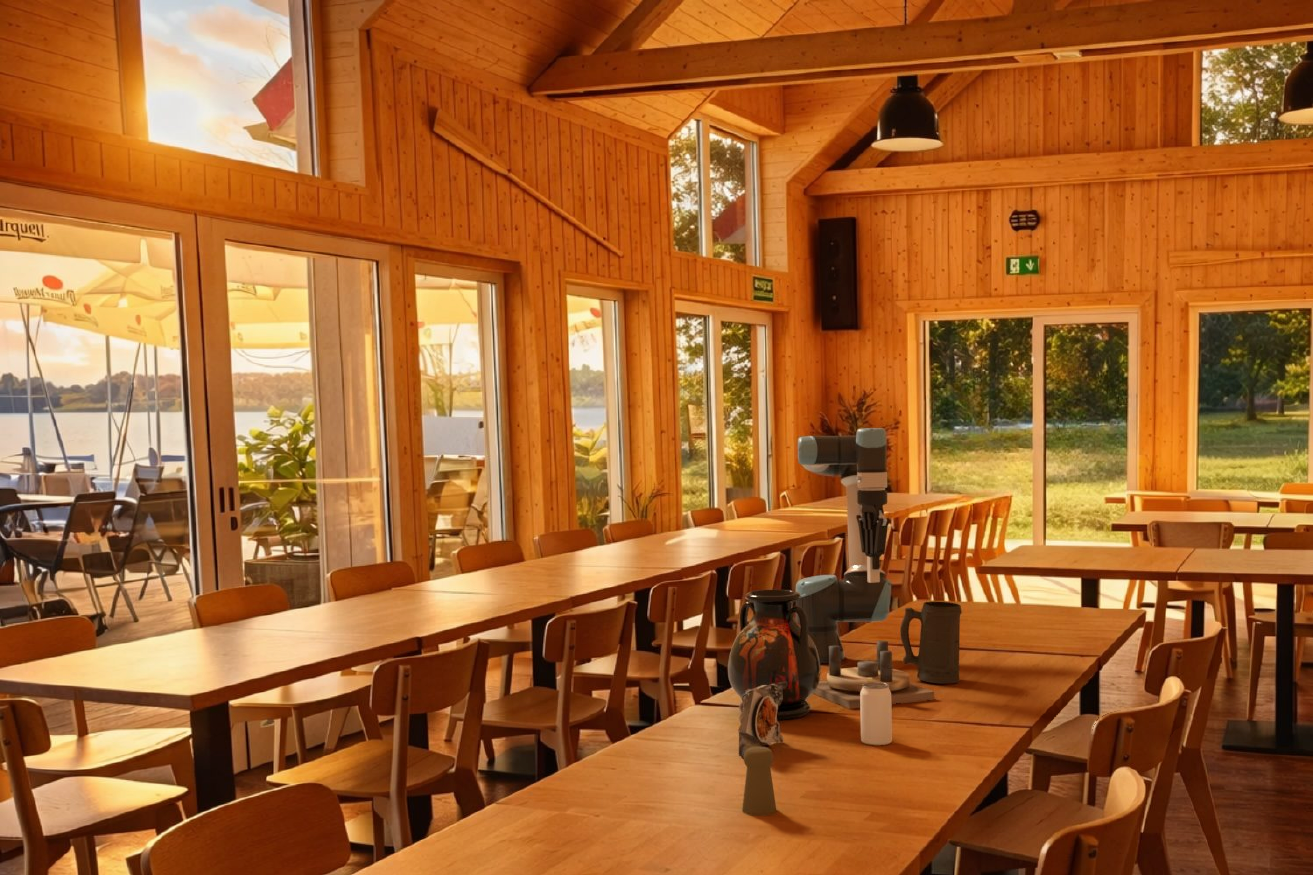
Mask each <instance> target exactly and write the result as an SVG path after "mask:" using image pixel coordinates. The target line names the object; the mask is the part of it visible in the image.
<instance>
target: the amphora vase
mask: <svg viewBox="0 0 1313 875" xmlns="http://www.w3.org/2000/svg"><path fill="white" fill-rule="evenodd" d="M800 597H801V595H800V594H799V593H798V592H796V590H795V591H794V590H791V589H790V590H789V589H758V590H753V591H748V592H747V593H746V594H745V596H744V598H745V600H747V601H746V602H744V603H743V604H742V606H741V608H740V613H739V633H738V635H737V636H736V637H735V640H734V641H733V644H732V646H731V650H730V652H729V657H728V663H727V676H728V677H727V678H728V680H729V683H730V686H731V687H732V689H733V691H734V692H735V693H736V694H737V695H738V696H739V698H740V699H741V698H742V696H743V694H745V693H746V690H748V689H754V688H757V687H759V686H761V685H770V684H777V683H783V682H787V681H788V685H787V686H786V687H785V688H784V689H783V690H782V693H783V700H782V702H781V704H780V706H778V709H777V719H776V720H777V721H778V720H780V721H783V720H784V721H785V720H791V719H798V718H801V717H803V716H806V715H807V714H808V713H809V712H810V711H811V704H810V703H809V702H808V699H809V698H810V697H811V696H812V694H813V692H814V691H815V689H816V687H817V686H818V683H819V681H821V669H822V668H821V664H820V661H819V655H818V652H817V649H816V646H815V644H814V642H813V640H812V638H811V637H810V635H809V634H808V621H807V615H806V613H805V611H804V610H803V609H802V608H801V607H797V606H796V605H795V606H793V604H794V603H796V601H797V600H798V599H800ZM749 609H751V611H752V612H753V613H752V617H751V619H750V620H749V622H748V612H749ZM796 613H797V614H798V615H799V618H800V624H799V623H798V622H797V621H796V617H795V614H796ZM742 699H743V698H742ZM742 699H741V700H742ZM738 708H739V711H740V713H742V709H743V702H742V701H741V702H740V704H739V707H738Z"/></svg>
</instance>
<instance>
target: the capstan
mask: <svg viewBox="0 0 1313 875" xmlns="http://www.w3.org/2000/svg"><path fill="white" fill-rule="evenodd" d="M892 652H893V651H891V650H889V641H887V640H877V641H876V661H875V660H874V661H873V660H861V661H858V662H857V667H856V666H854V667H845V668H842V664H841V662H842V661H841V655H840V646H829V663H828V669H829V671H828V672H827V673H826V680H827V684H828V685H829V686H831V687H834V688H837V689H842V690H848V691H859V692H861V690H862V685H863V684H866V683H884V684H888V685H889V689H890V691H893V690H899V689H903V688H906V687H908V686H909V685H910V683H911V680H910V674H909V673H908V672H905V671H903V670H900V669H895V668H893V654H892Z"/></svg>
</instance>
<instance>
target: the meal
mask: <svg viewBox="0 0 1313 875" xmlns="http://www.w3.org/2000/svg"><path fill="white" fill-rule="evenodd" d="M787 685H788V681H787V682H783V683H777V684H770V685H761V686H759V687H757V688H754V689H748V690H746V693H745V694H743V696H742V698H743V699H742V698H741V697H740V699H741V702H743V709H742V712H740V713H741V714H740V716H739V717H738V719H739V722H740V725H739V727H738V756H739V757H741V758H743V759H744V753H745V751H746V750H747V749H748V748H750V747H764V746H769V747H770V746H772V743H776V744H777V743H783V742H784V737H783V735H782V734H781V730H780V729H781V728H780V726H781V724H780V723H779V721H778V720H776V719H777V709H778V706H780V704H781V702H782V700H783V693H782V690H783V689H784V688H785V687H786V686H787Z"/></svg>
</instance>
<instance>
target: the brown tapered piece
mask: <svg viewBox="0 0 1313 875" xmlns="http://www.w3.org/2000/svg"><path fill="white" fill-rule="evenodd" d="M772 751H773V750H772V749H770V748H769V747H766V746H761V747H750V748H748V749H747V750H746V751H745V753H744V758H743V762H744V765H745V766H746V772H745V773H746V774H745V783H744V790H743V801H742V810H741V811H742V812H743V813H744V814H745V815H750V816H758V817H759V816H761V817H762V816H764V817H765V816H769V815H773V814H775V813H776V812H777V805H776V804H777V803H776V798H775V791H774V784H773V778H772V771H771V768H772V765H773V763H774V754H773V752H772Z"/></svg>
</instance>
